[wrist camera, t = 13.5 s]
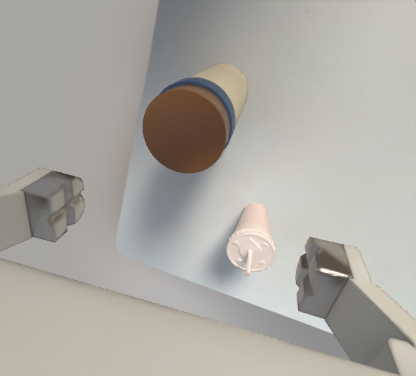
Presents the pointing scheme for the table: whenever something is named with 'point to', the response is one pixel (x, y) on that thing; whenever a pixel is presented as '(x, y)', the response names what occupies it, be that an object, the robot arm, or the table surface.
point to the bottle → (222, 88)
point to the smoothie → (252, 241)
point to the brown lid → (186, 128)
